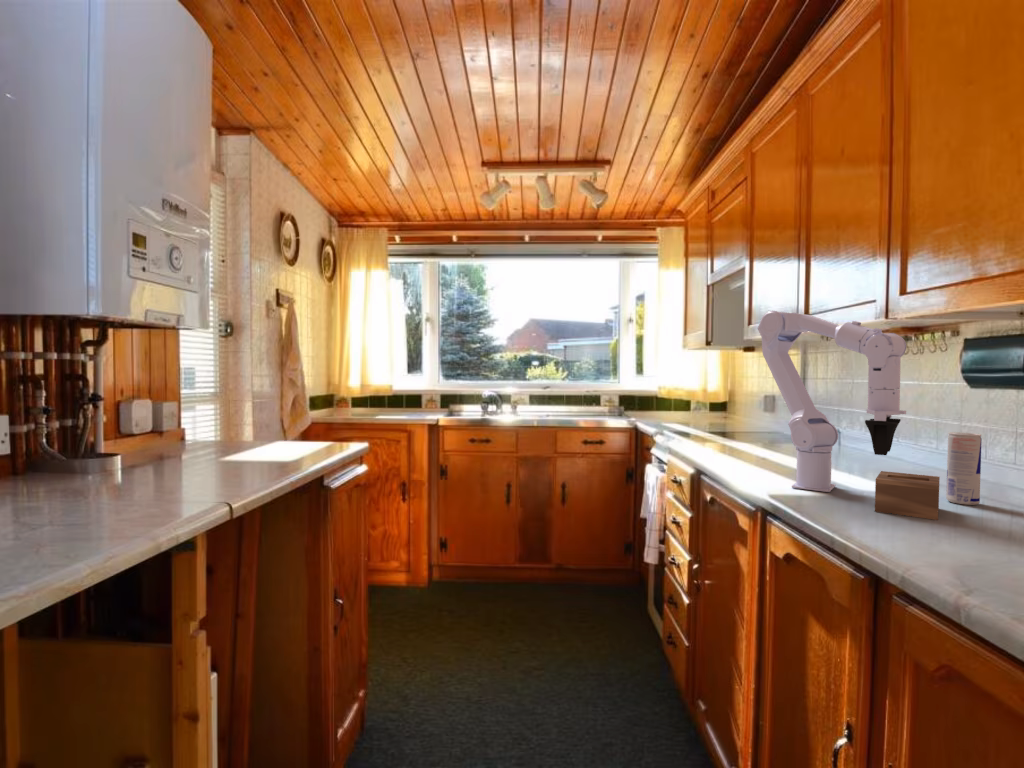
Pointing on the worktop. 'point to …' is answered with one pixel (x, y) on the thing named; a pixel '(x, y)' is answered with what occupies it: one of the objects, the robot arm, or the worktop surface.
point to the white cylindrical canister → (963, 468)
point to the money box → (907, 494)
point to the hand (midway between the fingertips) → (882, 452)
